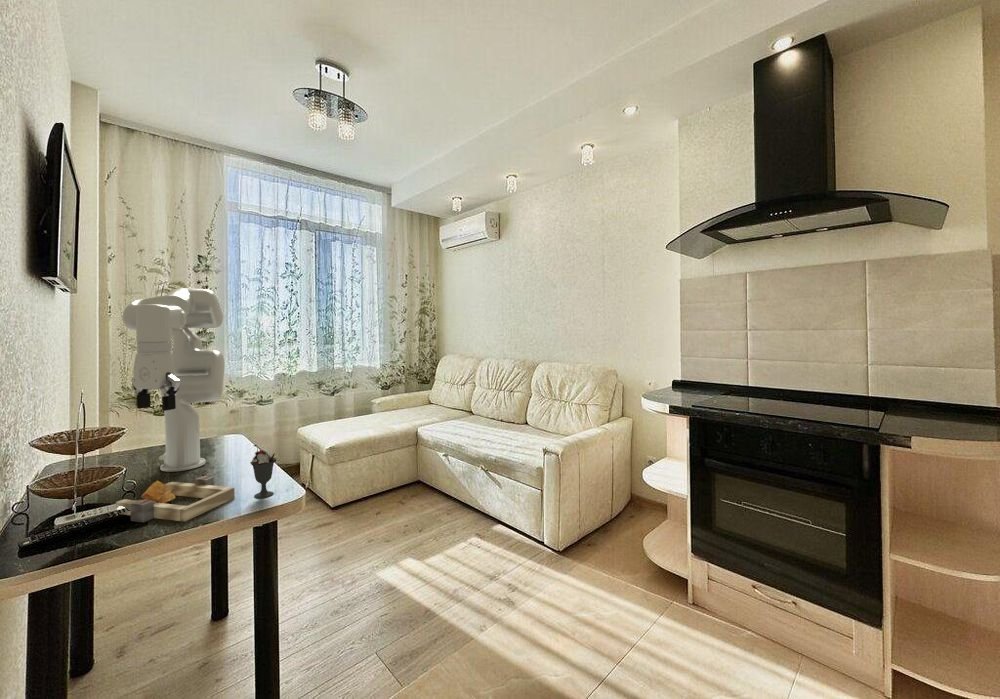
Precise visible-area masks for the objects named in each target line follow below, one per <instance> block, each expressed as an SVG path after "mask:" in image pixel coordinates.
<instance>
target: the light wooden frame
mask: <svg viewBox="0 0 1000 699" xmlns="http://www.w3.org/2000/svg"><path fill="white" fill-rule="evenodd" d="M214 478H215V477H214V476H209V475H205V476H204V475H202V476H198V477H196V478H194V483H191V482H190V483H189V482H178V481H171V482H170V481H169V482H168V483H164V484H165V485H167V486H169V488H168V489H167V490H166V491H169V490H171V489H172V491H173V493H174V495H175V496H178V497H188V498H197V499H199V498H200V500H198V501H196V502H193V503H191V504H189V505H181V504H173V503H171V504H170V503H159V502H158V501H156V502H154V501H149V500H146V499H139V500H137V499H136V500H135V499H126V498H124V499H121V500H118V501H115V506H116V505H118V506H123V507H125V508H127V509H128V510H130V511H125V512H121V513H119V514H118V515H125V516H130V521H131V522H136V523H146V522H148V521H151V520H153V519H160V520H167V521H176V522H177V521H178V522H187V521H190V520H192V519H193V518H195V517H198V516H200V515H202V514H204V513H206V512H209V511H211V510H212V509H214V508H217V507H219V506H221V505H223V504H225V503H228V502H230V501H232V500H233V499H235V487H232V486H222V485H221V486H220V485H215V481H214V480H215V479H214Z"/></svg>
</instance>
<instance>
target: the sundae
mask: <svg viewBox="0 0 1000 699" xmlns="http://www.w3.org/2000/svg"><path fill="white" fill-rule="evenodd" d="M253 447H256V449H257V450H256V452H254V454H255V455H254V456H253V457H252V460H251V461H250V463H249V464H250V465H251V466H252V468H253V473H254V478H255V481H256V482H257V483H259V484H260V486H261V489H260V491H259V492H258V493H255V494H254V495H253V497H254V498H255V499H266V498H269V497H272V496H273V495H274V492H273V491H269V490H268V489H267V483H268V482H269V481H270V480H271V479H272V478H273V477H272V476H273V471H274V463H276V462H277V458H276V457H274V456H275V453H273V454H272V455H271V453H270V452H268V451H266V450H263V449H261V448H260V447H259V446H258V445H257V444H254V445H253Z"/></svg>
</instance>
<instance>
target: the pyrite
mask: <svg viewBox="0 0 1000 699" xmlns="http://www.w3.org/2000/svg"><path fill="white" fill-rule="evenodd" d="M165 484H166V483H163V482H161V481H159V480H156V481H154V482H153V483H152V484H150V486H149V487H148V488H147V489H146V490H144V492H143V494H141V498H142V500H145V499H146V500H149V501H154V502H157V503H164V504H166V503H168V502H170V501H172V500H174V499H176V495H174V493H173V491H172V489H171V490H169V491H166V490H167V489H168V488H169V486H167V485H165Z"/></svg>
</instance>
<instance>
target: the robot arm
mask: <svg viewBox="0 0 1000 699" xmlns="http://www.w3.org/2000/svg"><path fill="white" fill-rule="evenodd" d="M122 321H123V324H124V326H125V327H127V328H128V329H129V330H132V331H135V332H136V333H135V334H136V335H135V336H136V353H135V357H134V363H133V376H132V377H131V379H130V380H131V383H132V385H133V386H132V388H133V389H134V394H135V395H136V409H140V410H141V409H147V408H151V405H152V404H151V393H149V392H150V391H151V390H153V391H154V390H160V395H161V404H162V405H161V406H162V408H161V409H162V411H163V413H164V438H165V439H164V440H165V441H164V442H165V446H164V447H165V452H164V453H162V455H159V457H158V459H159V461H160V460H161V461H163V463H162V464H161V465H160V467H159V468H160V471H161V472H166V473H170V472H171V473H172V472H173V473H175V472H183V471H188V470H193V469H196V468H199V467H202V466H203V465H206V460H207V459H205V458H204V457H201V442H200V441H201V438H200V435H201V434H200V415H199V412H198V411H197V409H196V408H195V407H194V406H193V405H192V404H194V403H195V404H197V403H208V402H209V403H210V402H217V401H219V400H220V399H221V398H222V395H223V388H224V380H225V379H224V378H225V376H224V375H225V357H224V354H223V353H221V351H219V350H213V349H203V340H202V339H201V338H200V337H199V336H198V335H197V333H195V332H193V331H192V330H191V328H192V329H196V328H197V329H217V328H219V327H221V325H222V324H223V321H224V315H223V311H222V308H221V305H220V302H219V298H217V295H216V294H215V292H213V290H210V289H207V288H185V287H184V288H183V287H181V288H180V287H178V288H175V289H171V290H170V291H169V292H167V293H166V294H165V295H157V296H153V297H147V298H146V297H145V298H141V299H136V300H133V301H132V302H130V303H129V304H127V305H126V306H125V308H124V310H123V312H122ZM172 341H173V346H172Z"/></svg>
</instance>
